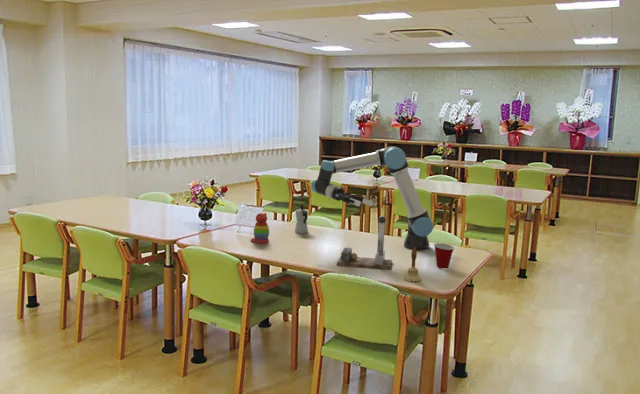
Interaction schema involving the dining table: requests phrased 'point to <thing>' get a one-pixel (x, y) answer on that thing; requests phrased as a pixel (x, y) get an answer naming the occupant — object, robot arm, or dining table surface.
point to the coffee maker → (301, 221)
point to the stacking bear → (261, 229)
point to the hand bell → (413, 269)
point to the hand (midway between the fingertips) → (366, 204)
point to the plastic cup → (443, 254)
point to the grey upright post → (380, 242)
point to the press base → (360, 261)
